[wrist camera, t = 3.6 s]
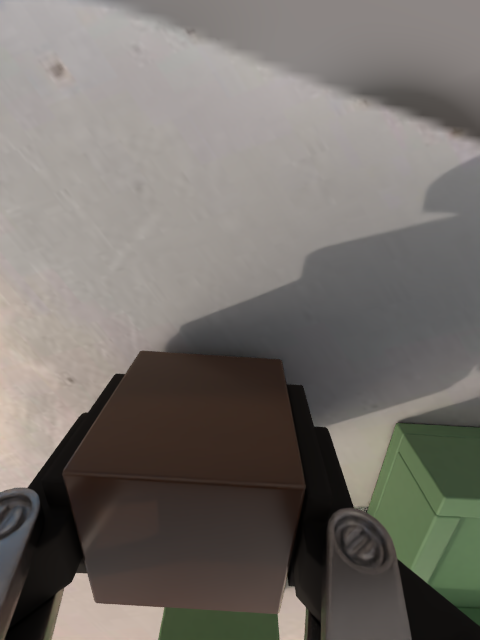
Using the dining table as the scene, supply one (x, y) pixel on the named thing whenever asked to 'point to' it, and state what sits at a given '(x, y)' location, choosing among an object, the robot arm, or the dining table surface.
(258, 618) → the green block
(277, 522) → the walnut block
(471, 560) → the green tray
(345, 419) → the dining table surface
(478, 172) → the dining table surface
